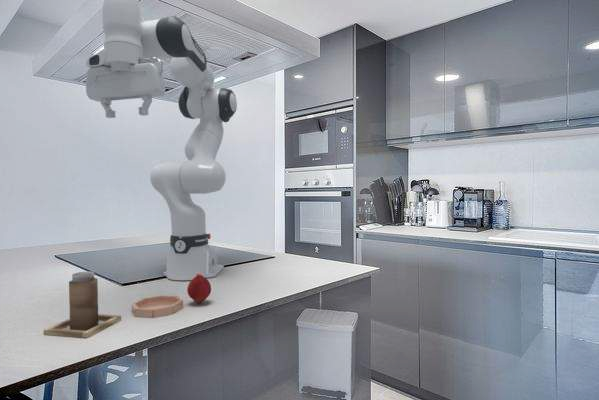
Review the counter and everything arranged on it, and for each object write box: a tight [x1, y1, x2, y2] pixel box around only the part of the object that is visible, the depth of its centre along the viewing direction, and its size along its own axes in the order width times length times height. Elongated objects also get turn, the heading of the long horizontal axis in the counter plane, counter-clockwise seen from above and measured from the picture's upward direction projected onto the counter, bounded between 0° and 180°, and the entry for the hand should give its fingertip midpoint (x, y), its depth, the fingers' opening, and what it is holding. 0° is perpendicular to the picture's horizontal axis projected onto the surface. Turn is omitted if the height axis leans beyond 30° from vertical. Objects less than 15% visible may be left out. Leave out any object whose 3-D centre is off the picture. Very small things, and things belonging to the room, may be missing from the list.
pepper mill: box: [68, 271, 99, 331], centre depth 76 cm, size 5×5×12 cm
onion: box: [187, 272, 212, 304], centre depth 92 cm, size 6×6×8 cm
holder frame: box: [43, 313, 122, 339], centre depth 76 cm, size 10×10×1 cm
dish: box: [131, 294, 184, 318], centre depth 87 cm, size 11×11×2 cm
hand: (127, 116), depth 90 cm, fingers open, 8 cm apart
